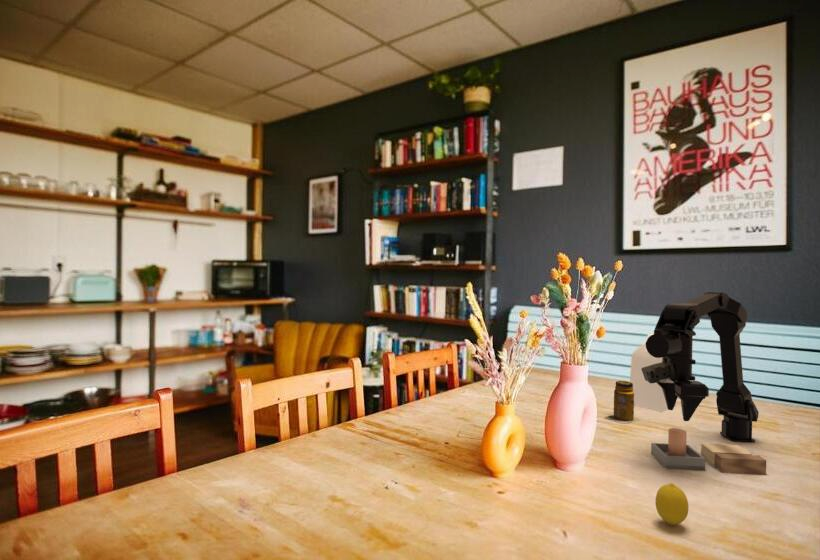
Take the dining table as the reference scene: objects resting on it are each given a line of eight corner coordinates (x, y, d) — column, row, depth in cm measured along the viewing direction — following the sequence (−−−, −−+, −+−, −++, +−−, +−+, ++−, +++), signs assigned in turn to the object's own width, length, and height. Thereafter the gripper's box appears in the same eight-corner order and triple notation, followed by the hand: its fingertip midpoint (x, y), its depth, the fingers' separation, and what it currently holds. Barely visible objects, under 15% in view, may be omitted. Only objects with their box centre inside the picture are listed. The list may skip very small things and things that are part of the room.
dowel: (681, 455, 123) (682, 428, 122) (688, 461, 119) (689, 433, 118) (665, 454, 123) (665, 427, 123) (671, 460, 119) (672, 433, 119)
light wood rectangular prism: (738, 460, 123) (738, 445, 123) (751, 470, 117) (751, 454, 117) (700, 458, 124) (701, 443, 124) (712, 467, 118) (712, 451, 118)
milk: (661, 412, 164) (662, 337, 163) (628, 404, 172) (629, 333, 172) (676, 406, 171) (677, 334, 170) (644, 399, 180) (645, 330, 179)
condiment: (639, 419, 155) (640, 383, 155) (624, 424, 151) (624, 386, 150) (619, 414, 161) (619, 378, 161) (603, 418, 157) (604, 382, 156)
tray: (688, 456, 125) (688, 444, 125) (705, 470, 116) (705, 458, 116) (651, 454, 126) (651, 442, 126) (665, 468, 117) (665, 456, 117)
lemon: (649, 518, 93) (649, 477, 93) (675, 517, 94) (676, 477, 94) (666, 533, 88) (667, 491, 88) (694, 532, 88) (695, 490, 88)
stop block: (758, 469, 117) (758, 455, 117) (766, 474, 114) (766, 460, 114) (714, 467, 118) (715, 453, 118) (721, 472, 115) (721, 457, 115)
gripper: (633, 347, 131) (632, 403, 131) (660, 360, 112) (658, 425, 112) (676, 348, 129) (675, 405, 129) (710, 361, 111) (709, 428, 111)
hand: (677, 415), depth 121 cm, fingers open, 9 cm apart
